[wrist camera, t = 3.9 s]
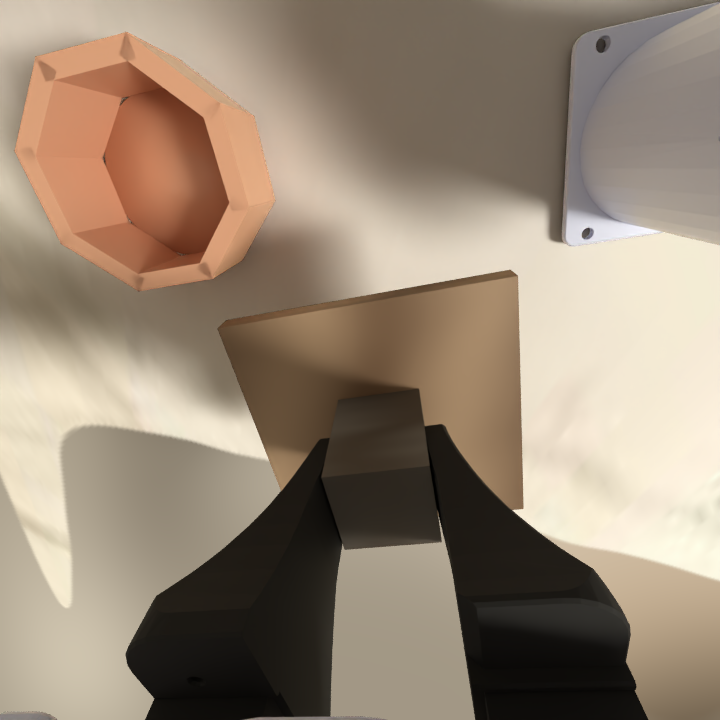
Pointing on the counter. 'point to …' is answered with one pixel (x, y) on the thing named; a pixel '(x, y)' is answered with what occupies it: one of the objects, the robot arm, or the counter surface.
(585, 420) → the counter surface
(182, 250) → the bowl
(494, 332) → the board
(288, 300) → the counter surface
